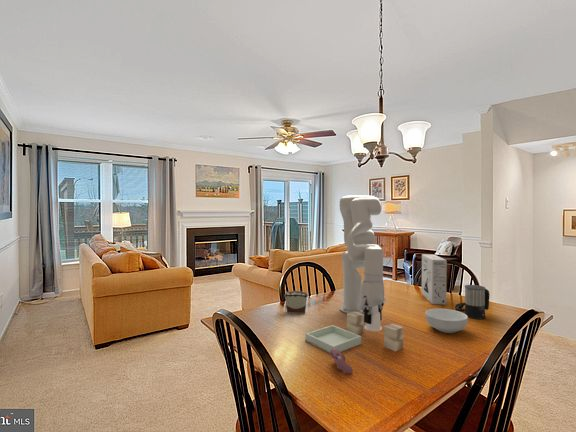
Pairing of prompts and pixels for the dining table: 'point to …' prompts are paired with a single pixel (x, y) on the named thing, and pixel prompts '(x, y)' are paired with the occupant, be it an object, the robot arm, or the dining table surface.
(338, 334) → the tray
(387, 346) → the maple block
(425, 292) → the cereal box
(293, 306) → the food container
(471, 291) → the milk frother
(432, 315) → the cereal bowl
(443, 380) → the dining table surface
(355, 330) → the maple block
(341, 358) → the video game controller
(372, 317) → the downlight
